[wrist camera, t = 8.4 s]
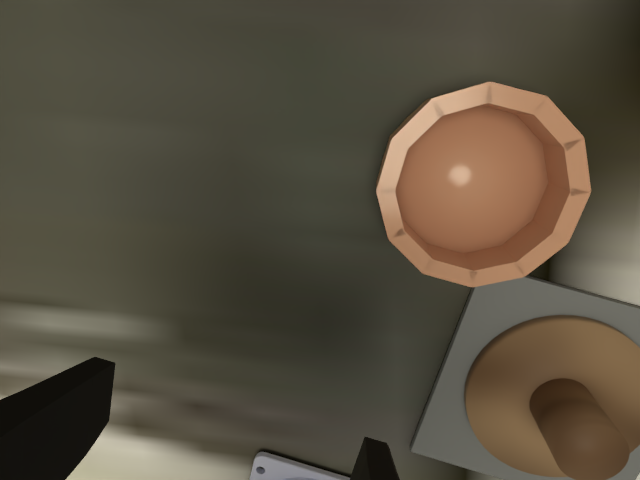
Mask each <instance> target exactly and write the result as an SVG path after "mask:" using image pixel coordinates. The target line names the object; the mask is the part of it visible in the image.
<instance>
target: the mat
mask: <svg viewBox="0 0 640 480" xmlns="http://www.w3.org/2000/svg"><path fill="white" fill-rule="evenodd" d="M552 315H575V316H582V317H588V318H591V319H595V320H598V321H601V322H603V323H606V324H608V325H610V326H612V327H614V328H616V329H617V330H619V331H621V332H622V333H623V334H625V335H626V336H627V337H628V338H630V339H631V340H632V341H633V342H634V343H635V344H636V345H637V346H638V347H639V348H640V307H639V306H636V305H632V304H629V303H625V302H621V301H618V300H614V299H610V298H607V297H603V296H600V295H596V294H592V293H589V292H585V291H581V290H578V289H574V288H571V287H567V286H563V285H560V284H556V283H553V282H549V281H545V280H542V279H538V278H534V277H531V276H527V275H526V276H524V277H522V278H517V279H512V280H507V281H502V282H498V283H493V284H488V285H483V286H478V287H472V289H471V292H470V294H469V297H468V299H467V302H466V304H465V307H464V309H463V312H462V315H461V317H460V320H459V322H458V325H457V327H456V330H455V332H454V335H453V338H452V340H451V343H450V345H449V348H448V350H447V353H446V356H445V358H444V361H443V363H442V366H441V368H440V371H439V373H438V376H437V379H436V381H435V384H434V386H433V389H432V391H431V394H430V396H429V399H428V402H427V404H426V407H425V409H424V412H423V414H422V417H421V419H420V422H419V425H418V427H417V430H416V432H415V435H414V437H413V440H412V442H411V445H410V451H411V452H413V453H417V454H420V455H423V456H427V457H430V458H433V459H437V460H440V461H443V462H447V463H450V464H453V465H457V466H460V467H463V468H467V469H470V470H473V471H477V472H480V473H483V474H487V475H490V476H493V477H497V478H500V479H503V480H575V479H572V478H570V477H547V476H539V475H534V474H529V473H526V472H523V471H520V470H517V469H515V468H513V467H510V466H508V465H507V464H505V463H503V462H501V461H500V460H498V459H497V458H496V457H494V456H493V455H492V454H491V453H490V452H488V451H487V450H486V449H485V448H484V446H483V445H482V444H481V443H480V441H479V440H478V439H477V437H476V435H475V434H474V432H473V430H472V427H471V425H470V422H469V419H468V415H467V411H466V407H465V400H464V390H465V382H466V378H467V375H468V372H469V370H470V367H471V365H472V363H473V362H474V360H475V358H476V357H477V355H478V354H479V353H480V352H481V350H482V349H483V348H484V347H485V346H486V345H487V344H488V343H489V342H490V341H491V340H492V339H494V338H495V337H496V336H498V335H499V334H500V333H502V332H504V331H505V330H507V329H509V328H511V327H512V326H515V325H517V324H519V323H522V322H524V321H528V320H531V319H534V318H539V317H544V316H552ZM639 473H640V445H639V446H638V447H637V448H636V449H635V450H634V451H632V452H631V453H630V455H629V459H628V462H627V464H626V466H625V467H624V468H623V469H622V470H621V471H620V472H619V473H618V474H616V475H615V476H613V477H611V478H609V479H607V480H635V479H636V478H637V476H638V475H639Z"/></svg>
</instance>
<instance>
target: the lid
mask: <svg viewBox="0 0 640 480" xmlns="http://www.w3.org/2000/svg"><path fill="white" fill-rule="evenodd" d="M464 400H465V407H466V411H467V415H468V419H469V422H470V425H471V427H472V430H473V432H474V434H475V435H476V437H477V439H478V440H479V441H480V443H481V444H482V445H483V446H484V448H485V449H486V450H487V451H488V452H490V453H491V454H492V455H493V456H494V457H496V458H497V459H498V460H500V461H501V462H503V463H505V464H507V465H508V466H510V467H513V468H515V469H517V470H520V471H523V472H526V473H529V474H534V475H539V476H547V477H570V478H572V479H575V480H607V479H609V478H611V477H613V476H615V475H616V474H618V473H619V472H620V471H621V470H622V469H623V468H624V467H625V466H626V464H627V462H628V459H629V455H630V453H631V452H632V451H634V450H635V449H636V448H637V447H638V446H639V445H640V348H639V347H638V346H637V345H636V344H635V343H634V342H633V341H632V340H631V339H630V338H628V337H627V336H626V335H625V334H623V333H622V332H621V331H619V330H617V329H616V328H614V327H612V326H610V325H608V324H606V323H603V322H601V321H598V320H595V319H591V318H588V317H582V316H575V315H552V316H544V317H539V318H534V319H531V320H528V321H524V322H522V323H519V324H517V325H515V326H512V327H511V328H509V329H507V330H505V331H504V332H502V333H500V334H499V335H498V336H496V337H495V338H494V339H492V340H491V341H490V342H489V343H488V344H487V345H486V346H485V347H484V348H483V349H482V350H481V352H480V353H479V354H478V355H477V357H476V358H475V360H474V362H473V363H472V365H471V367H470V370H469V372H468V375H467V378H466V382H465V390H464Z"/></svg>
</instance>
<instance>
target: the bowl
mask: <svg viewBox="0 0 640 480" xmlns="http://www.w3.org/2000/svg"><path fill="white" fill-rule="evenodd" d="M390 136H391V137H389V140H388V144H387V147H386V150H385V153H384V155H383V159H382V163H381V167H380V171H379V175H378V178H377V181H376V193H377V197H378V201H379V205H380V209H381V213H382V216H383V220H384V224H385V228H386V232H387V236H388V239H389V241H390V242H391V243H392V244H393V245H394V246H395V247H396V248H397V249H398V250H399V251H400V252H401V253H402V254H403V255H404V256H405V257H406V258H407V259H408V260H409V261H410V262H411V263H412V264H413V265H414V266H415V267H416V268H417V269H419V270H420V271H421V272H422V273H423V274H425V275H429V276H432V277H436V278H439V279H443V280H447V281H450V282H454V283H457V284H461V285H465V286H468V287H478V286H483V285H488V284H493V283H498V282H502V281H507V280H512V279H517V278H522V277H524V276H526V275H528V274H529V273H530V272H532V271H533V270H534V269H535V268H537V267H538V266H539V265H541V264H542V263H543V262H545V261H546V260H547V259H548V258H550V257H551V256H552V255H554V254H555V253H556V252H557V251H559V250H560V249H561V248H563V247H564V246H565V245H566V244H568V243H567V242H569V240H570V238H571V236H572V234H573V231H574V229H575V227H576V225H577V222H578V220H579V218H580V216H581V214H582V211H583V209H584V207H585V205H586V203H587V200H588V198H589V196H590V194H591V186H590V178H589V170H588V163H587V155H586V147H585V139H584V137H583V136H582V134H581V133H580V132H579V131H578V130H577V129H576V128H575V127H574V126H573V124H572V123H571V122H570V121H569V120H568V119H567V118H566V117H565V116H564V114H563V113H562V112H561V111H560V110H559V109H558V108H557V107H556V105H555V104H554V103H553V102H552V101H551V100H550V99H549V98H548V97H547V96H545V95H541V94H537V93H533V92H529V91H525V90H521V89H517V88H513V87H510V86H506V85H502V84H498V83H494V82H486V83H482V84H478V85H475V86H471V87H468V88H464V89H461V90H457V91H454V92H450V93H447V94H444V95H440V96H437V97H433V98H430V99H427V100H425V101H424V102H423V103H422V104H421V105H420V106H419V107H418V108H417V109H416V110H415V111H414V112H412V113H411V114H410V115H409V116H408V117H407V118H406V119H405V120H404V121H403V122H402V123H401V125H400V126H399V127H398V128H397V129H396V130H395V131H394V132H393V133H392V134H391V135H390Z"/></svg>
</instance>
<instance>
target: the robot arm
mask: <svg viewBox="0 0 640 480" xmlns="http://www.w3.org/2000/svg"><path fill="white" fill-rule="evenodd" d="M114 370H115V363H114V362H111V361H107V360H104V359H100V358H97V357H93V358H91V359H89V360H87V361H84V362H82V363H80V364H78V365H76V366H74V367H72V368H69V369H67V370H65V371H63V372H61V373H59V374H57V375H55V376H53V377H50V378H48V379H46V380H44V381H42V382H40V383H37V384H35V385H33V386H31V387H29V388H27V389H24V390H22V391H20V392H18V393H15V394H13V395H11V396H8V397H6V398H4V399H1V400H0V480H65V479H66V478H67V477H68V476H69V475H70V473H71V472H72V471H73V470H74V469H75V468H76V466H77V465H78V464H79V463H80V462H81V460H82V459H83V458H84V457H85V456H86V454H87V453H88V451H89V450H90V448H91V447H92V446H93V444H94V443H95V441H96V440H97V438H98V437H99V435H100V434H101V432H102V431H103V429H104V428H105V426H106V425H107V423H108V421H109V416H110V407H111V397H112V388H113V379H114ZM259 467H263V468H264V469H261V468H259ZM249 480H400V479H399V476H398V473H397V471H396V468H395V465H394V462H393V458H392V455H391V452H390V449H389V446H388V445H387V443H384V442H381V441H378V440H374V439H371V438H368V437H365V438H364V441H363V443H362V446H361V449H360V452H359V455H358V458H357V460H356V463H355V466H354V469H353V472H352V475H351V477H350V478H349V477H345V476H342V475H339V474H336V473H332V472H329V471H326V470H322V469H319V468H316V467H313V466H309V465H306V464H303V463H299V462H296V461H293V460H290V459H286V458H283V457H280V456H276V455H273V454H270V453H267V452H259V453H258V454H257V455H256V456H255V459H254V463H253V467H252V470H251V474H250V478H249Z"/></svg>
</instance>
